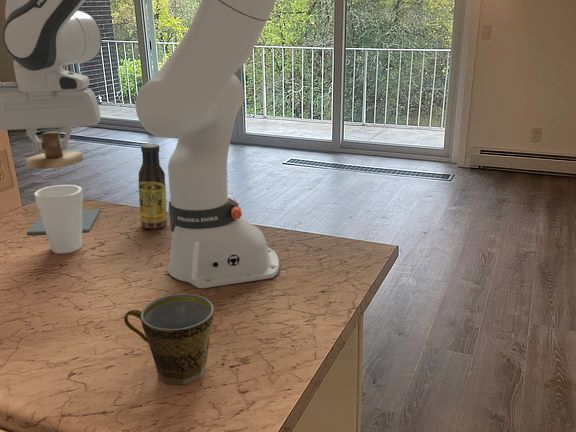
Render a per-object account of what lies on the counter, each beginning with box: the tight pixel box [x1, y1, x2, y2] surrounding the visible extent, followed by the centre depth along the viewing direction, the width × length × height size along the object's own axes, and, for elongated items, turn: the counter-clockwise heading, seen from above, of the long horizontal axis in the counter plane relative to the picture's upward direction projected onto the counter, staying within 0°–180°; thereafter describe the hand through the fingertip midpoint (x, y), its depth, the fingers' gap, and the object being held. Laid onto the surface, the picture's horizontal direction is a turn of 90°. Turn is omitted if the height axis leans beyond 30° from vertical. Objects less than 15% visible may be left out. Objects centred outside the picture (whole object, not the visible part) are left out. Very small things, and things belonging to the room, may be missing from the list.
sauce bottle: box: [138, 143, 168, 230], centre depth 131 cm, size 7×6×20 cm
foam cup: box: [34, 184, 84, 254], centre depth 120 cm, size 10×9×13 cm
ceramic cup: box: [123, 293, 215, 386], centre depth 79 cm, size 13×10×10 cm
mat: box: [26, 208, 101, 235], centre depth 136 cm, size 14×14×1 cm
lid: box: [25, 131, 84, 170], centre depth 114 cm, size 11×11×6 cm
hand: (53, 149), depth 114 cm, fingers closed on lid, 3 cm apart
